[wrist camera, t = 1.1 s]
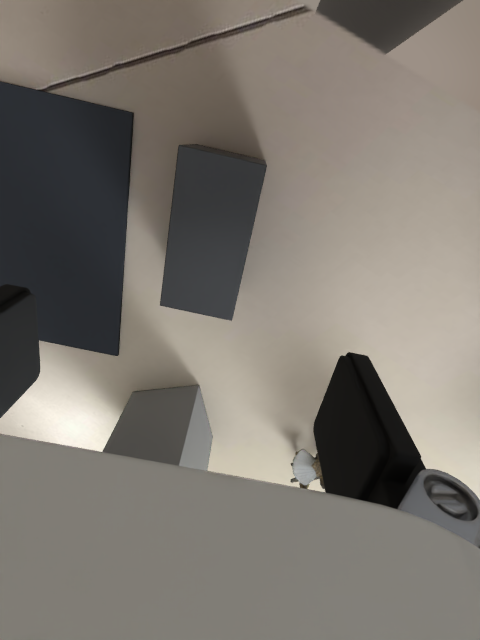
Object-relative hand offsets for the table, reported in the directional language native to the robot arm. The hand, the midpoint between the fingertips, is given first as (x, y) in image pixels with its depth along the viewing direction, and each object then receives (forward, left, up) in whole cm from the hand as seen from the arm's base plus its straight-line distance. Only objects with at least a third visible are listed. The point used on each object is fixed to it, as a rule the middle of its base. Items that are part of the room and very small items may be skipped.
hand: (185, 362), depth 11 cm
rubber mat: (+4, -15, -19) cm, 24 cm away
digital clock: (0, -1, -19) cm, 19 cm away
